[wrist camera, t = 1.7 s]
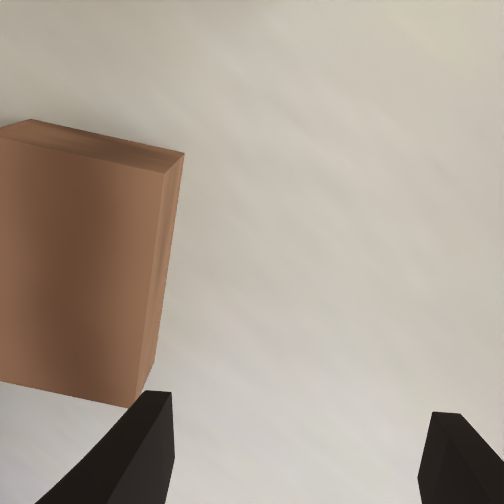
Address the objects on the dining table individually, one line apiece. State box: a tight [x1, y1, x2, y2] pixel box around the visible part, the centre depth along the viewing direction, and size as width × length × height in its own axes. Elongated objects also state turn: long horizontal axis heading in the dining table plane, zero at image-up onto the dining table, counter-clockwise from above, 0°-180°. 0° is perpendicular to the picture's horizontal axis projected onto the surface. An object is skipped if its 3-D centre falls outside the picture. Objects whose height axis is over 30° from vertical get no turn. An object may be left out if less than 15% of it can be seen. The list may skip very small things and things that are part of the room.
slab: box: [0, 119, 185, 408], centre depth 19 cm, size 6×10×4 cm, turn 168°
